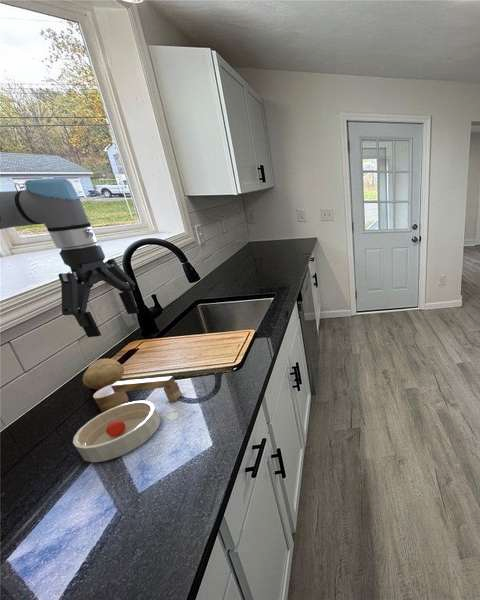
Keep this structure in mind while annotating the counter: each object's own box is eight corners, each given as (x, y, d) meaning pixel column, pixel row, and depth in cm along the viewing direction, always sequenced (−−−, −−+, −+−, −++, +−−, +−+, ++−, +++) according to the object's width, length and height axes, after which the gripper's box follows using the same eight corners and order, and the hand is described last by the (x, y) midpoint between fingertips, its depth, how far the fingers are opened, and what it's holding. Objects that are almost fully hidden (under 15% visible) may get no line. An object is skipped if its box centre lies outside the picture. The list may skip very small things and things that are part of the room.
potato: (88, 404, 93) (75, 382, 90) (90, 383, 103) (79, 362, 100) (129, 388, 99) (118, 367, 95) (128, 370, 109) (118, 350, 106)
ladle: (94, 413, 89) (83, 392, 86) (112, 398, 95) (101, 378, 92) (172, 405, 90) (163, 385, 87) (185, 390, 96) (177, 371, 93)
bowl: (64, 467, 72) (53, 451, 70) (116, 418, 86) (108, 403, 84) (133, 460, 73) (124, 444, 71) (173, 412, 87) (167, 397, 85)
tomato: (101, 430, 78) (102, 432, 76) (114, 417, 81) (116, 418, 78) (115, 438, 80) (117, 439, 78) (127, 425, 82) (130, 426, 80)
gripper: (44, 258, 65) (91, 346, 73) (131, 235, 88) (159, 304, 96) (7, 261, 65) (57, 349, 73) (104, 237, 88) (134, 306, 96)
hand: (115, 323), depth 84 cm, fingers open, 13 cm apart
